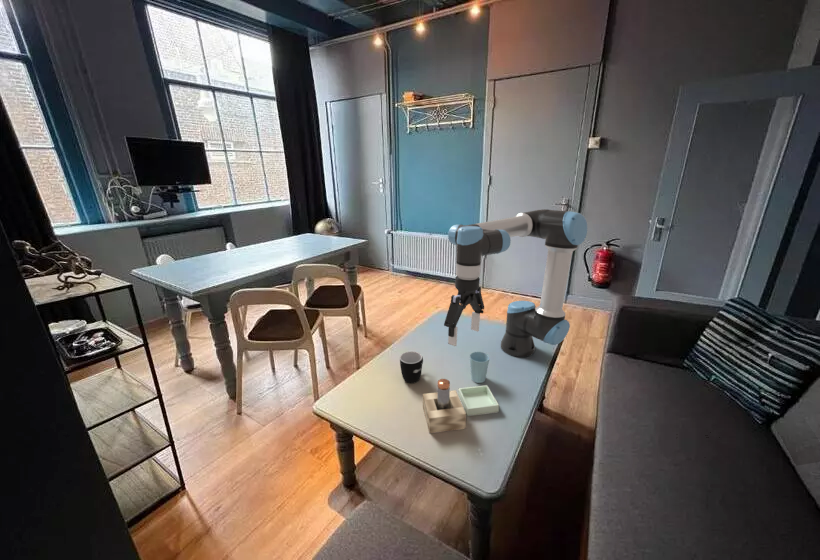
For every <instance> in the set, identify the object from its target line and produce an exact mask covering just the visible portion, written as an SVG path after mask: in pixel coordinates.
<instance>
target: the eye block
mask: <svg viewBox="0 0 820 560" xmlns="http://www.w3.org/2000/svg"><path fill="white" fill-rule="evenodd" d="M437 396H438V391H437V392H429V393H422V410H423V412H424V417H425V420H426V425H427V429H428V433H429V434H434V433H442V432H449V431H456V430H465V429H466V424H467V423H466V422H467V420H466V419H467V414H466V412H465V409H464V407H463V405H462V402H461V400H460V398H459V396H458V391H457V390H456V389H454V390H450V397H449V409H443V410H437Z"/></svg>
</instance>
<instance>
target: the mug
mask: <svg viewBox="0 0 820 560" xmlns="http://www.w3.org/2000/svg"><path fill="white" fill-rule="evenodd" d="M423 363H424V358H423V356H422V354H421V353H419V352H417V351H406V352H403V353H401V355H400V356H399V365H400V371H401V376H402V378H403V380H404V381H405V382H406V383H408V384H416V383H417V382H419V380H420V379H421V376H422V371H423V370H422V369H423Z"/></svg>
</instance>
